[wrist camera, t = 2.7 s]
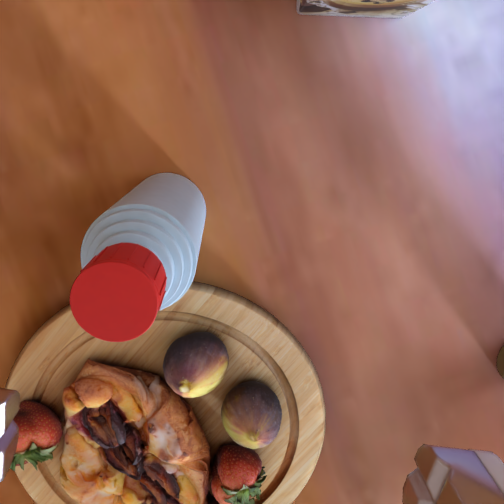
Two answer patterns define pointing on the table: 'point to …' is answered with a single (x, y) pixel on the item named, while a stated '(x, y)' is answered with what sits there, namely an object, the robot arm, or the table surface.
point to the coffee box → (361, 7)
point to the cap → (119, 292)
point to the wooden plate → (169, 409)
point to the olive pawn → (501, 362)
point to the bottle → (156, 228)
